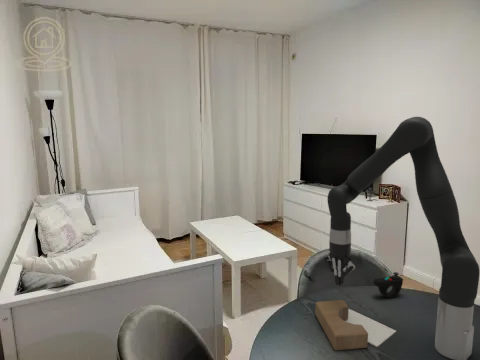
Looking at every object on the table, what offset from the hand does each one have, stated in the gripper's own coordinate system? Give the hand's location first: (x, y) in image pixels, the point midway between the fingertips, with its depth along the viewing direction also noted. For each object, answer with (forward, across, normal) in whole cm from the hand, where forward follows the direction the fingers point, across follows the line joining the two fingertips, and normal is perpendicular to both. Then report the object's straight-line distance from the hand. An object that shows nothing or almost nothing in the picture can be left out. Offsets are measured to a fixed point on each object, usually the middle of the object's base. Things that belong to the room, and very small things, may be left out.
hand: (339, 284), depth 126 cm
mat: (+12, -9, 0) cm, 16 cm away
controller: (+13, -5, -27) cm, 30 cm away
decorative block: (+9, +2, +2) cm, 10 cm away
